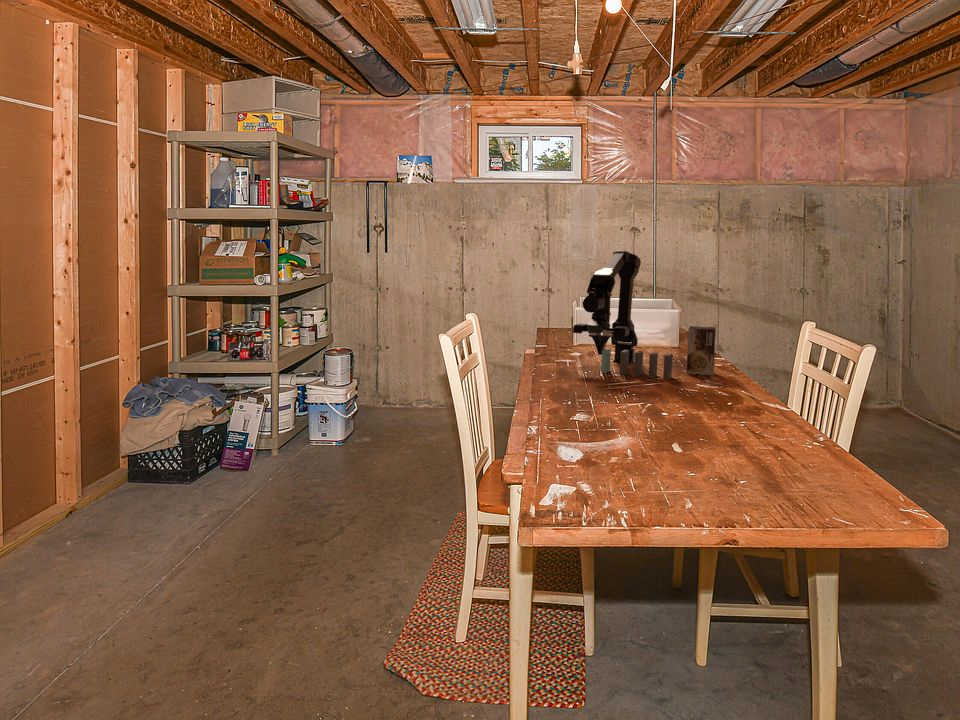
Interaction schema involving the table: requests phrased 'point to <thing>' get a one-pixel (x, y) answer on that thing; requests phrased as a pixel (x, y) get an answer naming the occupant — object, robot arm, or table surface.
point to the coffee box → (701, 350)
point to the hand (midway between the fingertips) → (600, 354)
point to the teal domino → (605, 360)
